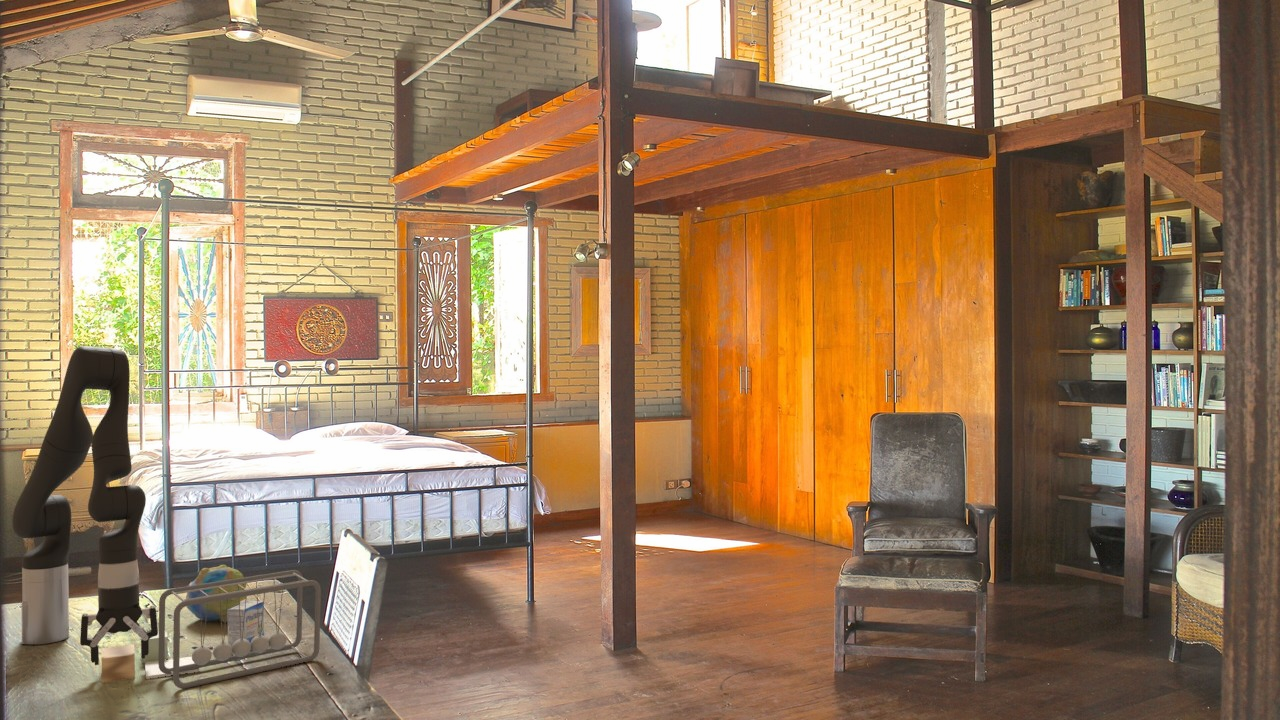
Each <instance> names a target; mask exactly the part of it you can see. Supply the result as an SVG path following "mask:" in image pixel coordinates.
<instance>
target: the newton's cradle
mask: <svg viewBox="0 0 1280 720" xmlns="http://www.w3.org/2000/svg"><path fill="white" fill-rule="evenodd" d="M295 576H296V578H297V581H291V582H284V583H283V582H280V581H279V580H277V579H283V578H288V577H289V578H290V577H295ZM243 577H244V576H243ZM269 580H270V581H271V580H273V585H267V586H266V585H263V584H261V583H259V582H263V581H269ZM275 581H277V582H278V584H276V582H275ZM245 583H247V584H250V583H255V587H253V588H250V589H249V588H248V589H246V587H245V588H244V589H245V590H240V591H239V586H240V585H239V584H245ZM258 584H260V585H261V586H260V587H258ZM233 585H238V591H234V592H228V593H222V594H220V587H226V586H233ZM311 586H313V587H314V589H315V591H314V594H315V596H314V628H313V629H314V630H313V631H314V638H313V652H312V653H311V654H310V655H305V654H304V653H303V652H301V651H300V650H299V649H297V647H298V646H299V645H300V643H301V642H302V635H303V595H304V594H303V591H304V590H303V588H305V587H311ZM241 587H242V586H241ZM214 588H219V594H216V595H209V596H208V595H207V594H206V595H207V596H203V597H201V590H207V589H214ZM242 588H243V587H242ZM221 589H222V588H221ZM293 589H297V591H296V592H297V593H296V636H295V637H296V638H295V641H294V642H292V643H290V644H287V640H288V639H287V636H286V634H285V633H284V632H282V631H280V622H281V613H282V604H283V601H282V600H283V593H284V591H287V590H293ZM321 589H322V588H321V585H320V583H319V582H318V581H316V580H313V579H311V580H310V579H306V578H304V577H303V574H302V573H301V572H300V571H299V570H296V569H292V570H285V571H277V572H272V573H265V574H258V575H257V574H256V575H252V576H245V577H244V578H238V579H231V580H225V581H218V582H211V583H205V584H198V585H192V586H189V585H187V586H179V587H172V588H169V589H166V590H165V591H164V592H162V593H161V595H160V596H159V602H158V608H159V609H158V632H159V659H158V665H159V669H160V671H161V672H163V673H165V674H173V676H172V681H173V684H174V685H175V687H176V688H178V689H189V688H193V687H199V686H203V685H208V684H211V683H217V682H222V681H227V680H230V679H235V678H236V679H237V678H240V677H243V676H249V675H250V676H251V675H253V674H258V673H259V674H260V673H263V671H264V672H267V671H272V670H277V669H281V667H282V668H287V667H290V665H291V666H295V664H296V665H300V664H299V663H301V664H304V663H303V662H305V663H309V662H312V661H313V660H315V659H317V657H318V656H319V653H320V650H321V649H320V643H321V642H320V640H321V639H320V637H321V605H322V603H321V602H322V601H321V597H322V595H321V594H322V591H321ZM222 590H223V589H222ZM194 591H200V597H197V598H191V599H186V598H185V599H184V598H182V597H181V596H180V595H181V594H187V593H188V592H194ZM224 591H225V590H224ZM280 591H281V597H280V608H279V617H278V616H277V615H275V626H276V629H275V630H276V631H275V632H273V633H271V634H270V635H269V637H267V636H265V635H264V636H263V635H261V632H260V633H259V635H258V636H256V637H254V638H253V639H252V641H251V643H250V642H249V641H248V640H246V639H243V632H242V638H240V639H238V640H237V641H235V642H234V644H233V646H232V647H231V645H230V644H228V642H225V636H226V635H225V634H226V626H227V625H226V624H227V623H226V617H225V623H224V630H223V621H222V617H221V621H220V629H221V634H223V635H221V642H219V643H217V644H216V645H215V646H214V648H213V650H212V651H211V649H210V648H209V647H208V646H204V643H205V635H206V626H207V621H206V620H205V621H204V630H203V629H202V626H203V625H202V624H203V623H202V621H203V620H202V619H200V646H198V647H196V648H195V649H194V650H193V651H192V654H191V657H192V660H193V662H194V664H189V665H184V666H179V658H180V653H181V652H180V650H181V649H180V646H181V645H180V644H181V643H180V639H181V637H180V636H181V611H182V610H183V609H184V608H186V606H190V605H196V604H200V610H201V604H202V603H207V610H208V602H214V601H220V613H221V600H226V599H227V604H228V599H232V598H239V597H244V596H246V599H244V600H245V601H244V603H245V609H246V602H247V598H248V597H250V596H255V595H256V601H257V610H258V601H259V599H258V597H259V596H258V595H261V594H263V601H262V602H263V609H264V608H265V597H266V594H267V593H273V592H274V595H276V592H280ZM202 592H203V591H202ZM225 592H226V591H225ZM203 593H204V592H203ZM204 594H205V593H204ZM170 595H173V596H175V597H176V598H178V599H179V600H180V601H181V602H179V603H178V604H177V605H176V607H175V608H174V611H173V641H172V642H173V643H172V644H173V648H172V649H173V650H172V651H173V652H172V654H173V657H172V659H173V668H166V667H165V664H164V663H165V631H166V600H167V598H168V597H169V596H170ZM276 603H277V601H276V597H274V605H275V606H274V608H275V609H274V610H275V613H277V604H276ZM240 604H241V601H240V602H239V617H240ZM264 610H265V609H264ZM226 615H227V606H226ZM277 617H278V618H277ZM206 619H207V612H206ZM262 619H263V611H262ZM244 620H245V611H244ZM258 629H259V614H258ZM261 629H262V621H261ZM243 630H244V622H243ZM240 636H241V621H240ZM288 650H289V651H290V650H294V651H295V652H296V653H298V654H300V655H301V656H302V657H299V658H294V659H291V660H284V661H279V662H276V663H271V664H265V665H261V666H258V667H252V668H247V669H243V670H238V671H233V672H229V673H224V674H219V675H216V676H211V677H210V676H209V677H205V678H200V679H196V680H191V681H186V682H184V681H183V680H182V679H181V678H180V675H179V672H182V671H187V670H192V669H197V668H199V669H201V668H206V667H210V666H215V665H221V664H225V663H230V662H235V661H240V660H245V659H249V658H254V657H255V658H256V657H259V656H264V655H265V656H266V655H269V654H274V653H278V652H283V651H288ZM232 654H233V655H232ZM212 656H213V657H214V659H212ZM308 661H309V662H308ZM286 666H287V667H286Z"/></svg>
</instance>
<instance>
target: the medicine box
mask: <svg viewBox="0 0 1280 720" xmlns="http://www.w3.org/2000/svg"><path fill="white" fill-rule="evenodd" d="M244 611H245V620H244ZM262 611H263V619H262ZM258 614H259V629H258ZM227 618H228V622H227V643H228V644H230V645H231V647H232V646H233V644H234V642H235V641H237V640H238V639H240V638H242V632H243V639H246V640H248V641H249V642H250V643H251V641H252V639H253V638H254V637H256V636H258V635H259V633H260V632H261V635H263V636H265V609H263V601H259V600H258V610H257V600H249V601H248V600H246V609H245V602H243V603H240V617H239V605H238V606H235V607H233V608H231V609H228V610H227ZM240 621H241V636H240ZM261 621H262V629H261ZM243 622H244V630H243Z"/></svg>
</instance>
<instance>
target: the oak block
mask: <svg viewBox="0 0 1280 720" xmlns="http://www.w3.org/2000/svg"><path fill="white" fill-rule="evenodd" d="M135 657H136V656H135V644H127V645H126V644H125V645H118V646H111V647H102V648H101V663H100V664H101V665H100V666H101V683H107V682H108V683H109V682H110V683H111V682H115V681H116V682H117V681H122V680H123V681H124V679H125V680H131V678H132V679H136V665H135V662H136V661H135Z"/></svg>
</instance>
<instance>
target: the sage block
mask: <svg viewBox="0 0 1280 720" xmlns="http://www.w3.org/2000/svg"><path fill="white" fill-rule="evenodd" d="M168 640H169V639H168V631H166V630H165V659H168V660H169V657H168V656H169V654H168V653H169V652H168V651H169V650H168V649H169V648H168V647H169V645H168V642H169V641H168ZM158 659H159V631H158V635H157V636H154V637H151V638H150V639H149V653H148V655H145V658H144V659H141V664H142V663H144V664H145V663H147V662H154V661H158Z"/></svg>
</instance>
